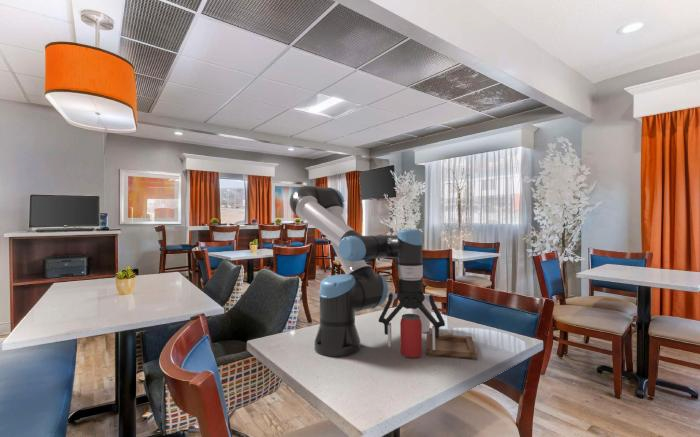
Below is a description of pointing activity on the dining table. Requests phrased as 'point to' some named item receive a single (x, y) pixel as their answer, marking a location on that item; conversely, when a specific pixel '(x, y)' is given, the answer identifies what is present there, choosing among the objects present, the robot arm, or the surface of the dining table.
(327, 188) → the robot arm
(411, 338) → the beer can
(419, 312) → the foam cup
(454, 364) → the dining table surface
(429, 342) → the wooden tray
